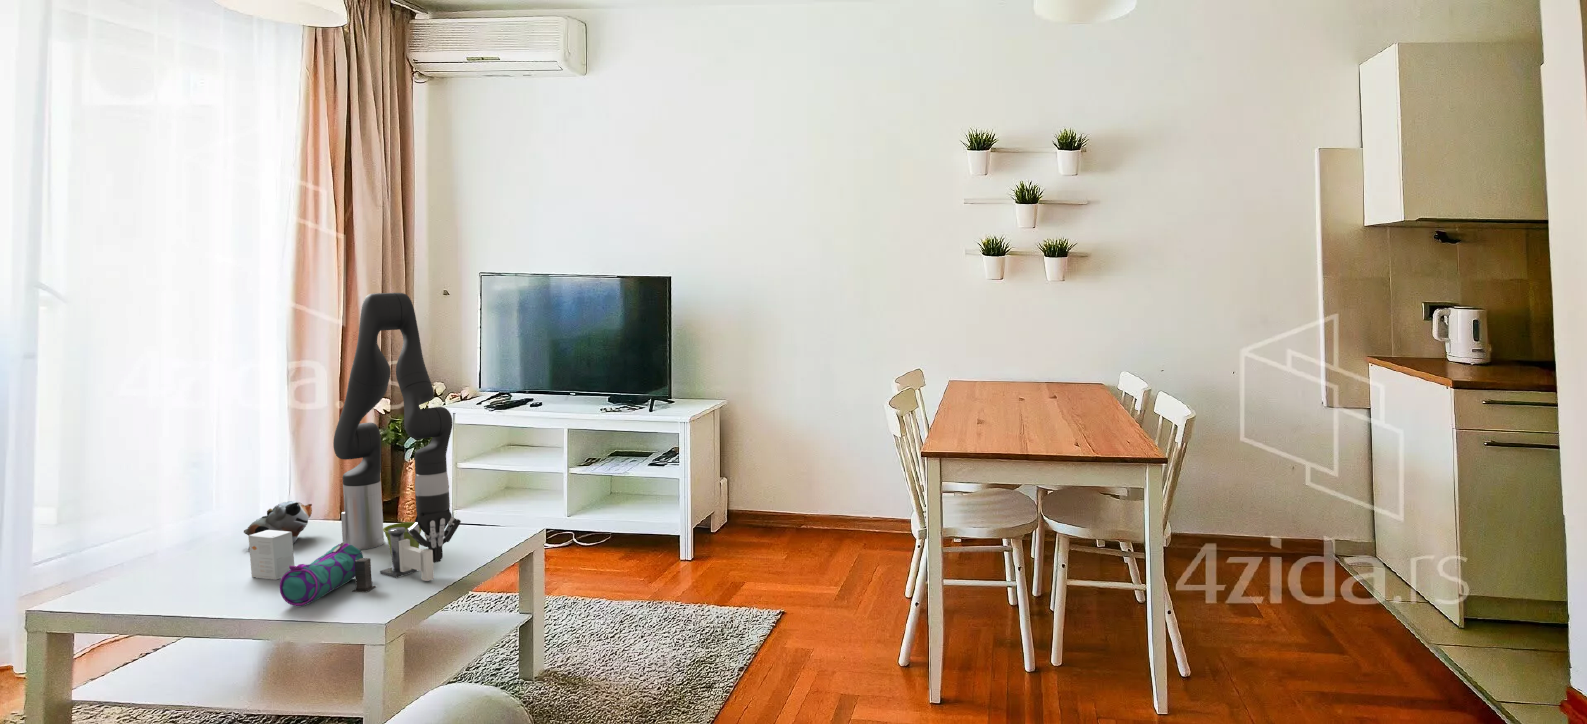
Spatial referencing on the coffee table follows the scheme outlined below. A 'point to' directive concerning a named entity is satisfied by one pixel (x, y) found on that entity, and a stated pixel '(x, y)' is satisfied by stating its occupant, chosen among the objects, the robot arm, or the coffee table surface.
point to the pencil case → (319, 575)
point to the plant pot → (406, 534)
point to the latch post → (363, 575)
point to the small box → (271, 554)
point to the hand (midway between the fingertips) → (435, 561)
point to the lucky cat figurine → (283, 519)
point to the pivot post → (396, 553)
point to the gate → (416, 559)
